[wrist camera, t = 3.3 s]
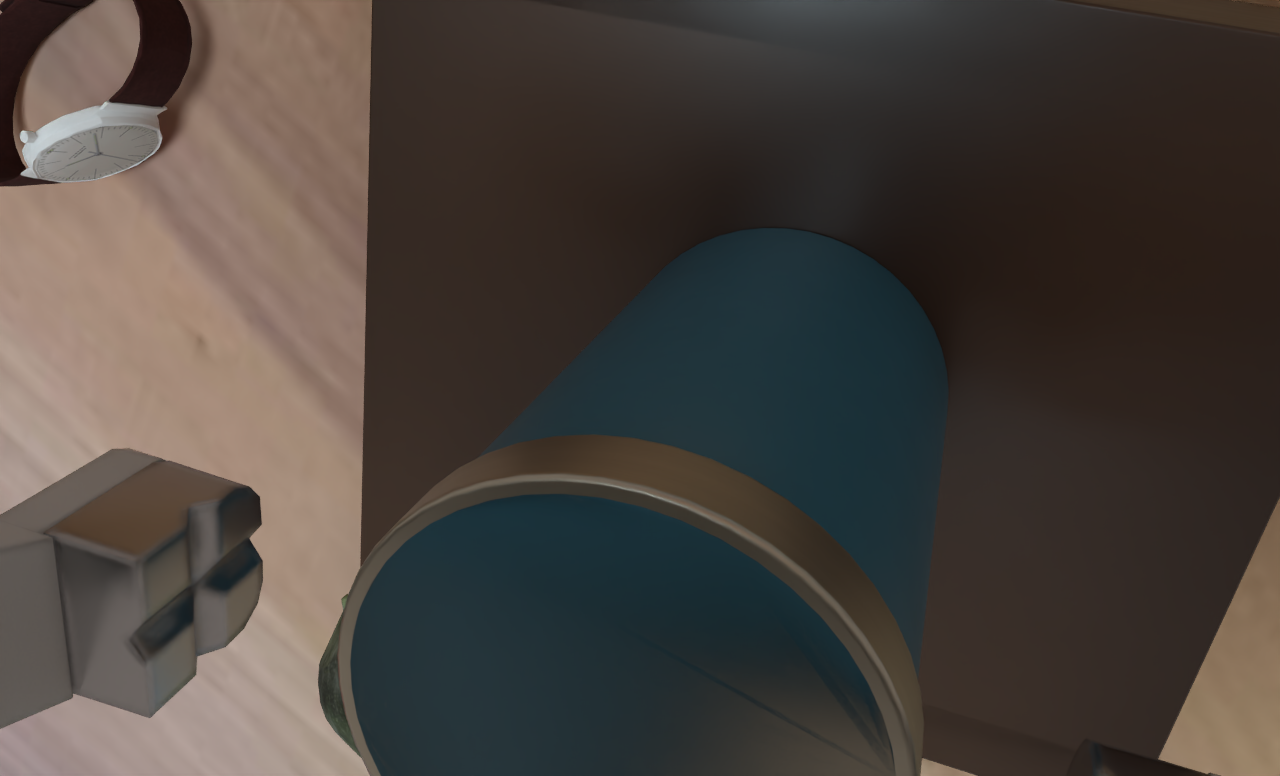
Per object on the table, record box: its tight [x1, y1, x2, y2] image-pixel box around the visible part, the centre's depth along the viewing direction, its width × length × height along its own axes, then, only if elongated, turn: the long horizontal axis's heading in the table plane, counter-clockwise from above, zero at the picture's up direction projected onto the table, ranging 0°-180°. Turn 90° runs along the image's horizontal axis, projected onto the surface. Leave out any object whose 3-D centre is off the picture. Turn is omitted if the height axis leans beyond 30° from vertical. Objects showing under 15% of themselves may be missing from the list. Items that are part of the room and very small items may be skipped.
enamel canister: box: [338, 228, 949, 776], centre depth 13 cm, size 5×5×8 cm
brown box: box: [361, 0, 1280, 776], centre depth 20 cm, size 14×12×9 cm
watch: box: [0, 0, 192, 186], centre depth 27 cm, size 8×5×4 cm, turn 122°
